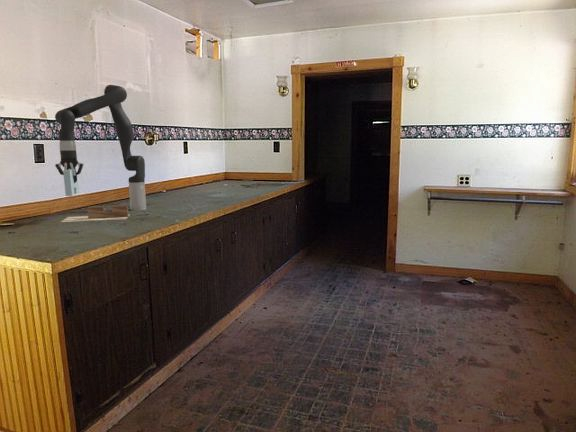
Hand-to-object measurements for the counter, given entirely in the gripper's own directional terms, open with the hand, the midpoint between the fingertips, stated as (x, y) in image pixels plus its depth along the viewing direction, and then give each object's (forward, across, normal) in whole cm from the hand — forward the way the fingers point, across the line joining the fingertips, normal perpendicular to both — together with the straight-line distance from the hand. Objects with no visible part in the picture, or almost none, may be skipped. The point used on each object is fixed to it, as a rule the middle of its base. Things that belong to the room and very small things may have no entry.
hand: (71, 182), depth 226 cm
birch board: (+20, -11, 0) cm, 23 cm away
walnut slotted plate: (+19, -17, 0) cm, 26 cm away
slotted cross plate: (+6, 0, 0) cm, 6 cm away
